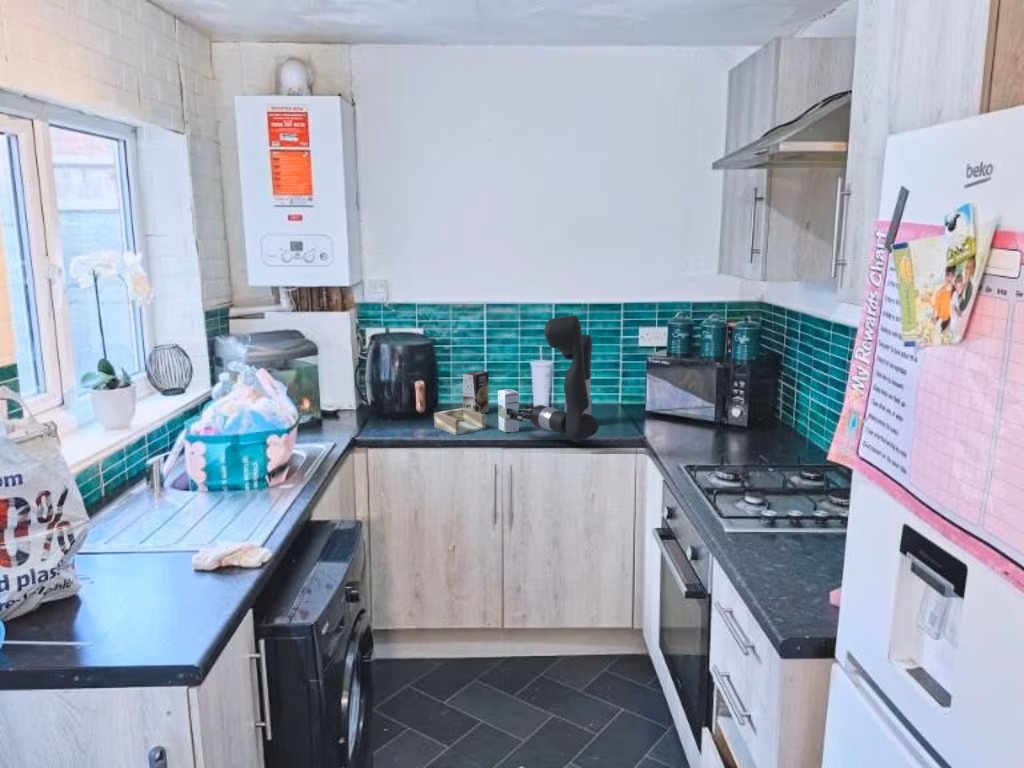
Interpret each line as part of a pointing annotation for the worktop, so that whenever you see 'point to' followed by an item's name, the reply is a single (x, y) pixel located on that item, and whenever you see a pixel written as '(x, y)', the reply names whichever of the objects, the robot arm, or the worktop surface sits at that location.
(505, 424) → the syrup box
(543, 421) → the robot arm
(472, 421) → the cubby
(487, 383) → the coffee box
